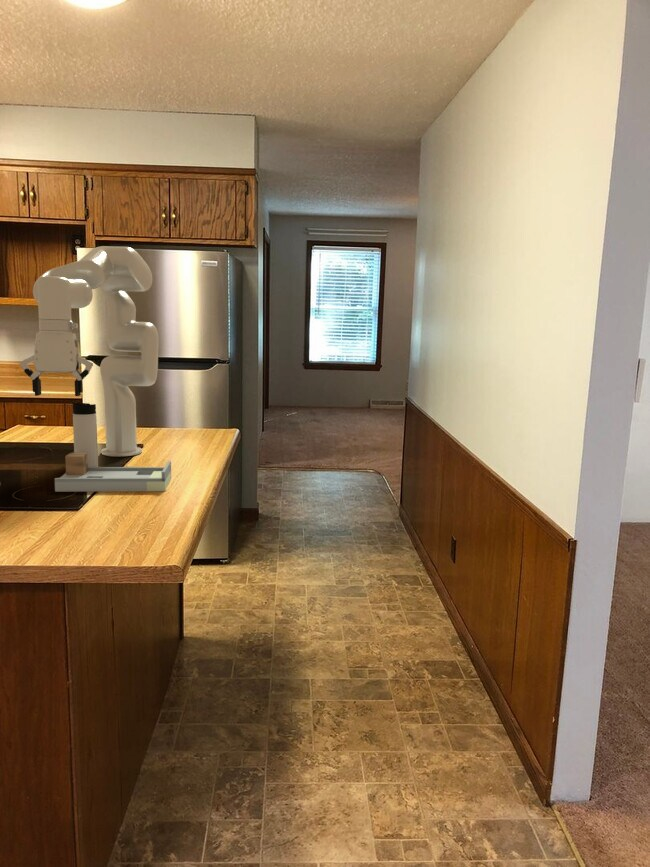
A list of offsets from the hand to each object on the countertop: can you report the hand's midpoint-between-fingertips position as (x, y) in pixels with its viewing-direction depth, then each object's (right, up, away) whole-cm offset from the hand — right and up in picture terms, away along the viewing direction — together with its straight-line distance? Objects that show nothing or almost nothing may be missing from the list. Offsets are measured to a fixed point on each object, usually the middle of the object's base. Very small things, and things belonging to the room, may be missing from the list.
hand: (58, 395), depth 161 cm
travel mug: (-1, -21, +20) cm, 29 cm away
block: (+2, -20, +7) cm, 22 cm away
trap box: (+13, -23, +6) cm, 27 cm away
